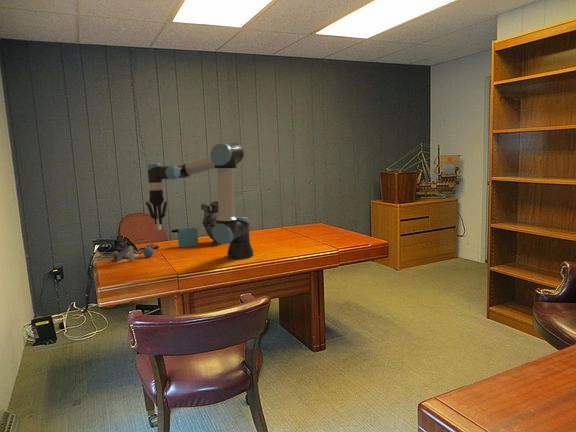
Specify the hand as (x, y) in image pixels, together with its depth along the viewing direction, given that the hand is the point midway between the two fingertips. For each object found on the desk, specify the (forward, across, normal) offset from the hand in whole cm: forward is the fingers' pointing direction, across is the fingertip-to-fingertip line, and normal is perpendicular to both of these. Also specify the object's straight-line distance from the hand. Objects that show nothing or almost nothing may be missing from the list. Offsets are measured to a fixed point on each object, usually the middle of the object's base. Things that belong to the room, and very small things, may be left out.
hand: (159, 229), depth 250 cm
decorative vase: (+17, -27, -37) cm, 49 cm away
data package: (+17, -8, -30) cm, 35 cm away
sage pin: (+16, +14, +9) cm, 23 cm away
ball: (+13, +8, 0) cm, 15 cm away
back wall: (+16, +23, 0) cm, 28 cm away
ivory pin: (+15, +13, +2) cm, 20 cm away
